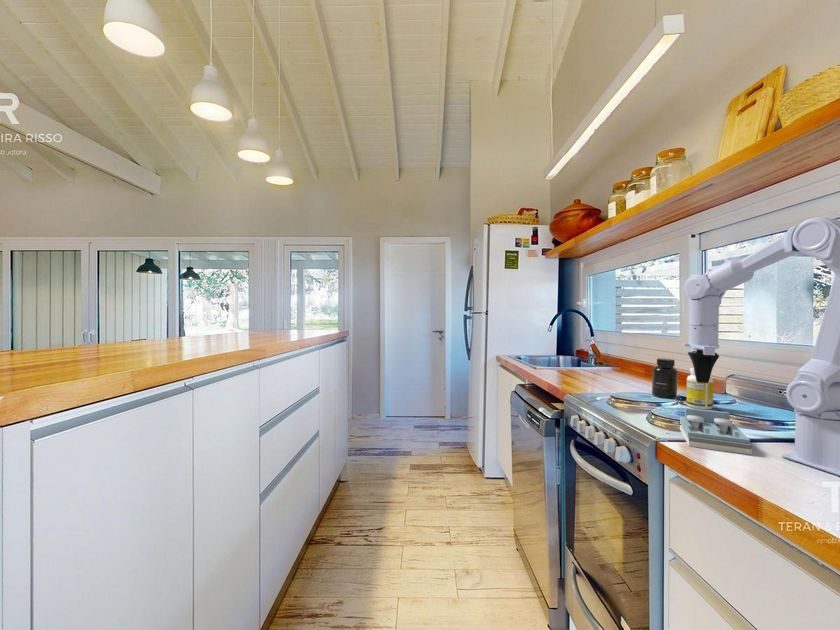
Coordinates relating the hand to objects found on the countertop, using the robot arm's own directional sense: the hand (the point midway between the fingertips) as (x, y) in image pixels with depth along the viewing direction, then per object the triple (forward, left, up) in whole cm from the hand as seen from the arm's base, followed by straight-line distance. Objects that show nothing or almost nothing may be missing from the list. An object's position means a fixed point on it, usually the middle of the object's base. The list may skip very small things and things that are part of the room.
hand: (702, 382), depth 93 cm
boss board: (-6, +6, -10) cm, 13 cm away
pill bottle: (+14, -16, -11) cm, 24 cm away
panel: (-9, +7, -9) cm, 15 cm away
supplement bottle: (+28, -18, -11) cm, 35 cm away
